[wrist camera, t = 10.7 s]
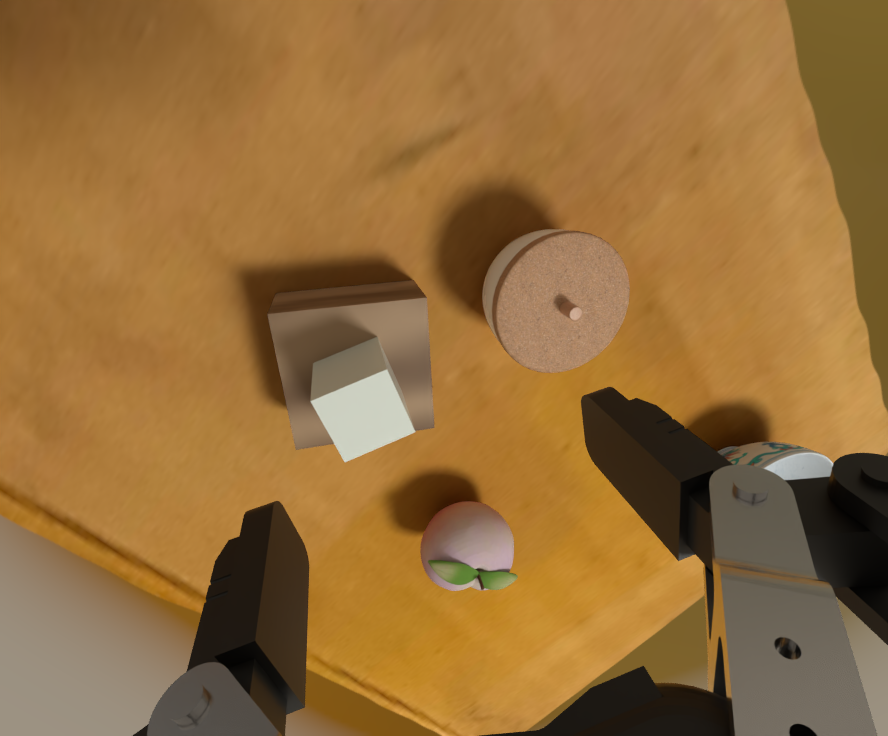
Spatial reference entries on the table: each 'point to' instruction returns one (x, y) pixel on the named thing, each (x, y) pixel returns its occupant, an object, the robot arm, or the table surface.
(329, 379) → the off-white cube
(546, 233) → the lidded jar
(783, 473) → the chinaware
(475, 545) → the decorative fruit
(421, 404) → the walnut block
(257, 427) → the table surface
